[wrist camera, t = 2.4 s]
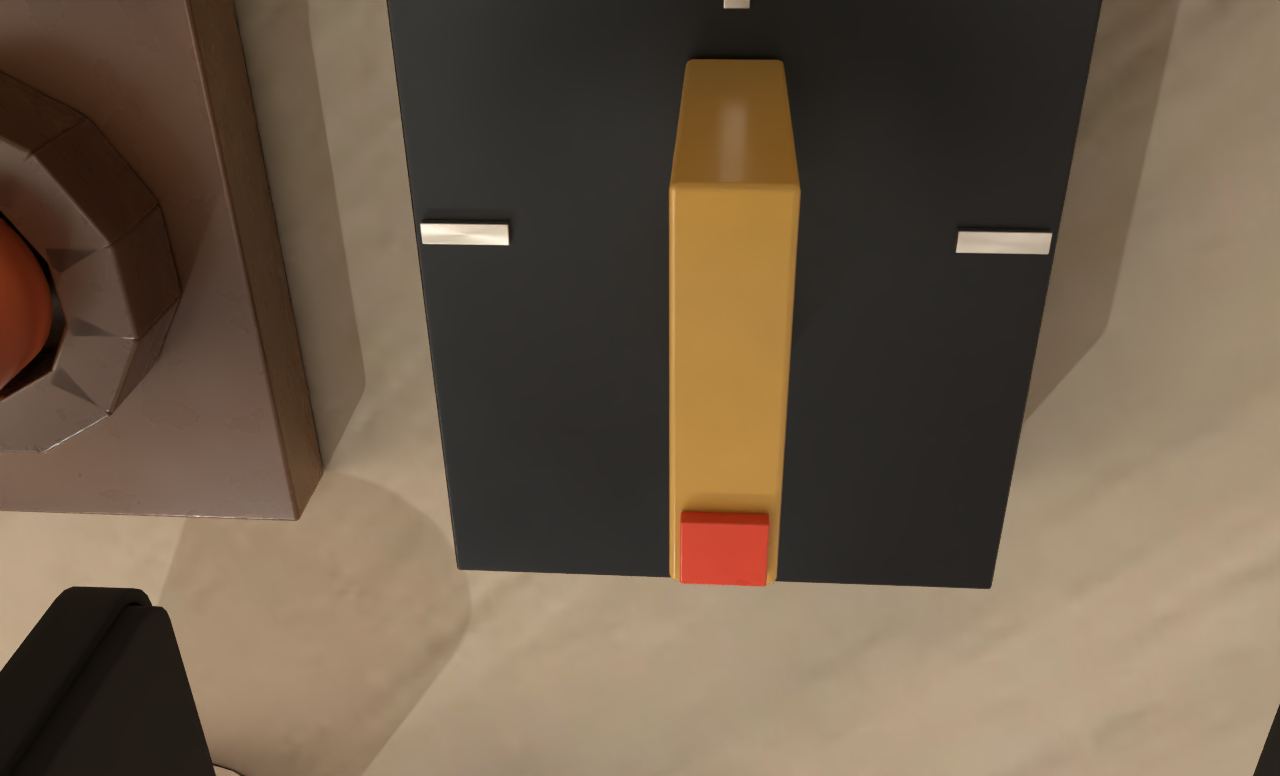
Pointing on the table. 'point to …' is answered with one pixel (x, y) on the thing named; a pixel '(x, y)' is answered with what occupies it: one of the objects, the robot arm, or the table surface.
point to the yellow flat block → (730, 319)
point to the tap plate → (825, 269)
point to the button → (21, 304)
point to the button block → (147, 270)
